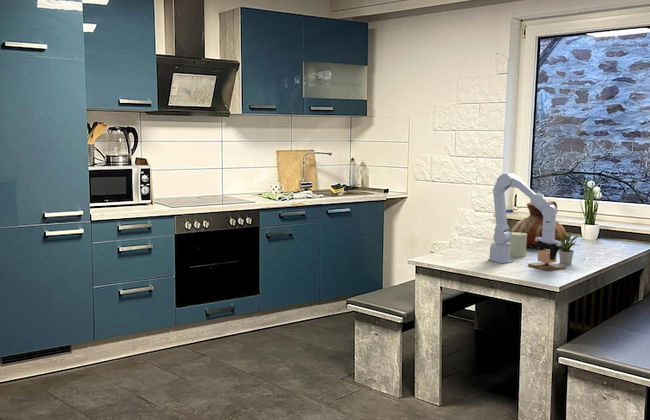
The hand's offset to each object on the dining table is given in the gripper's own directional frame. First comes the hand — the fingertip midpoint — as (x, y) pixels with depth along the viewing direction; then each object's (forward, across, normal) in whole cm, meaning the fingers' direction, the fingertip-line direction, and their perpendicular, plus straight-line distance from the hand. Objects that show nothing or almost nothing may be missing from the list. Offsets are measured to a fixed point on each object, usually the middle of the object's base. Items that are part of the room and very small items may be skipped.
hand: (547, 258), depth 315 cm
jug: (+5, -44, +39) cm, 59 cm away
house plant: (+5, -2, +16) cm, 17 cm away
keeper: (+4, 0, 0) cm, 4 cm away
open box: (+1, 0, 0) cm, 1 cm away
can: (+5, -28, +8) cm, 29 cm away
